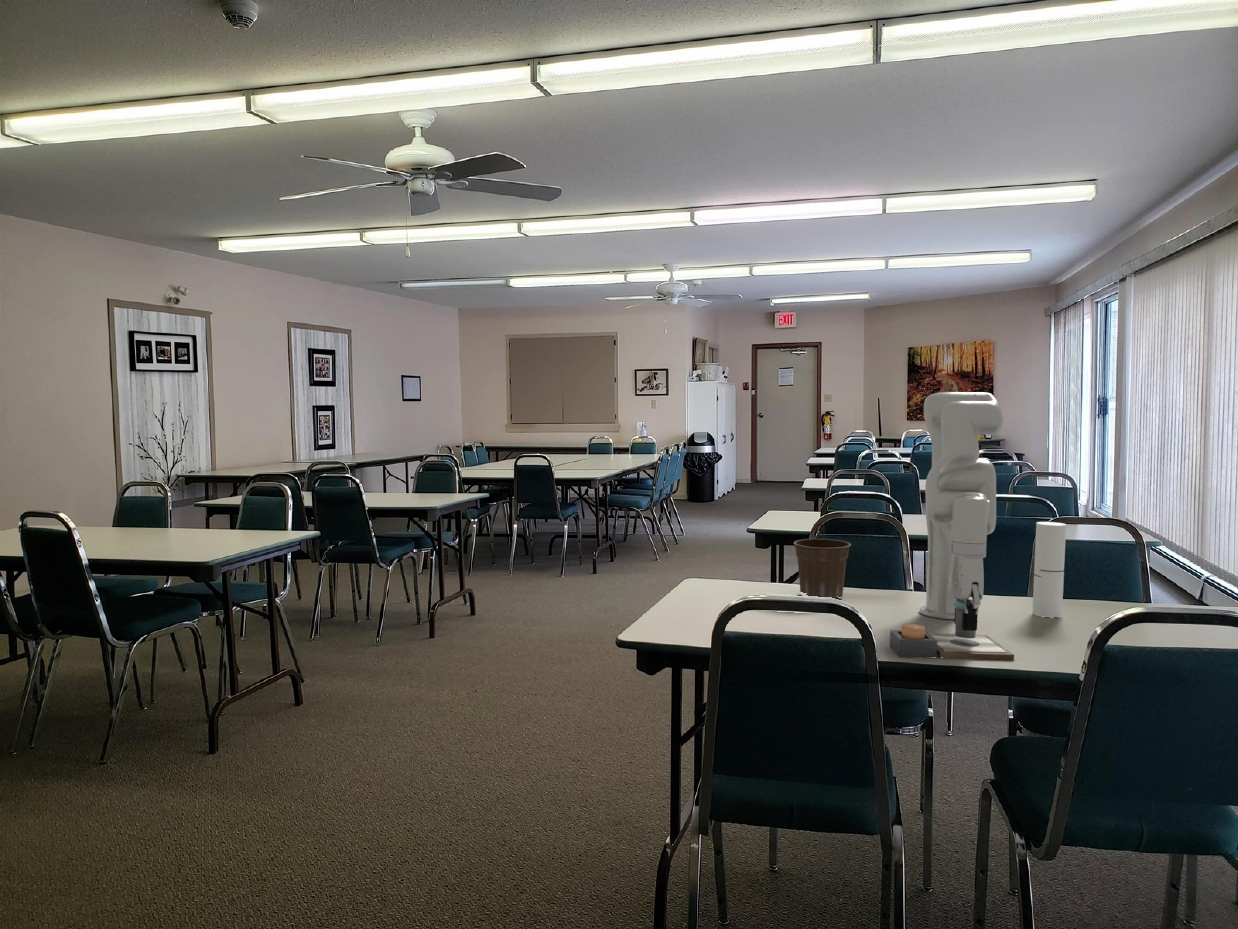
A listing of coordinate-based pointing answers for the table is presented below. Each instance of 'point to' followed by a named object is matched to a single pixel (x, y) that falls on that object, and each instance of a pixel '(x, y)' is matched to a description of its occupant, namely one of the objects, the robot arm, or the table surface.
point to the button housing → (913, 645)
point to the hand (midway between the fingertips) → (965, 626)
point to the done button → (913, 631)
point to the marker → (958, 627)
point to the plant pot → (822, 566)
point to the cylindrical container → (1049, 569)
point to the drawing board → (970, 647)
